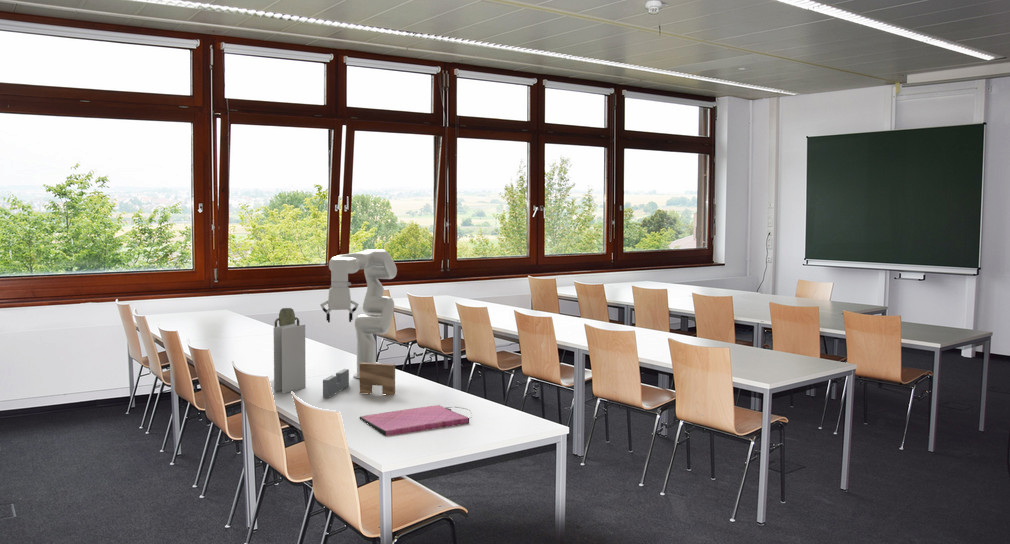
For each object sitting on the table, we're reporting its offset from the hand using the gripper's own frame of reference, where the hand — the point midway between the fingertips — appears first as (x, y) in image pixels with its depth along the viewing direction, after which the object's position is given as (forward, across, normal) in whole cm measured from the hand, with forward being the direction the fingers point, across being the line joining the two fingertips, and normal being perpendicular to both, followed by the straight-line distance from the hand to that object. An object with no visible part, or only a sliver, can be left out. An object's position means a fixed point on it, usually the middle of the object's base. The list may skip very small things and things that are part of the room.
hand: (339, 321), depth 348 cm
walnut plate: (+32, -16, +11) cm, 38 cm away
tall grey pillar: (+32, +22, -6) cm, 40 cm away
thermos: (+32, +23, -30) cm, 50 cm away
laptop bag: (+33, -28, +58) cm, 72 cm away
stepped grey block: (+32, +2, +2) cm, 32 cm away
